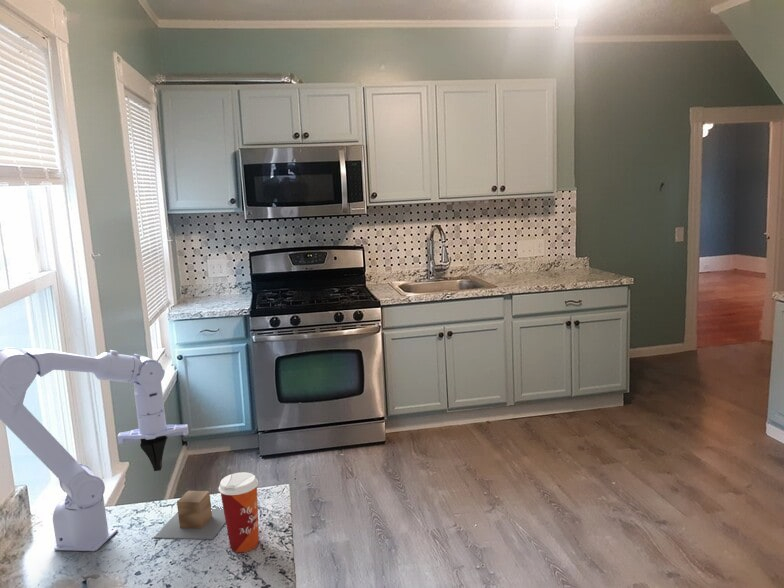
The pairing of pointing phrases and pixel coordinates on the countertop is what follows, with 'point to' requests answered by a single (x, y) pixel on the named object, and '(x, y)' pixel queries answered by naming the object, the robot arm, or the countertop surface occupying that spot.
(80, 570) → the countertop surface
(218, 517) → the slate mat
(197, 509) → the walnut block
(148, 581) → the countertop surface
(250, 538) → the paper cup
